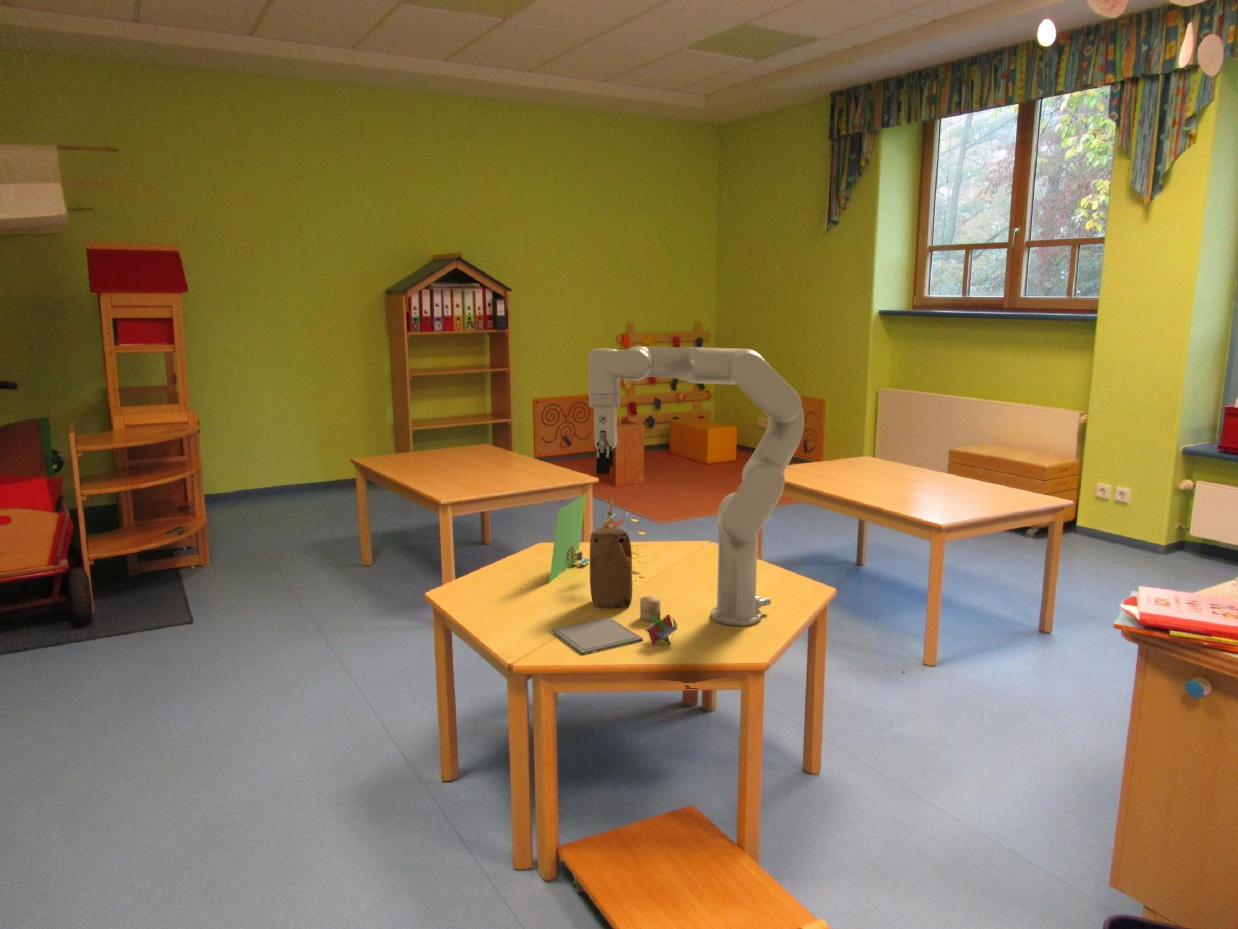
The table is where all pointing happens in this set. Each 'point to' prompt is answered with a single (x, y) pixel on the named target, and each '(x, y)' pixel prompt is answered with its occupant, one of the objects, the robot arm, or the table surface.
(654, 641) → the geometric puzzle
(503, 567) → the table surface
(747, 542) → the robot arm
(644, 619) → the tan rounded cylinder
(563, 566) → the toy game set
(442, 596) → the table surface
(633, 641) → the felt mat
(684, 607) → the table surface
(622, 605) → the block
